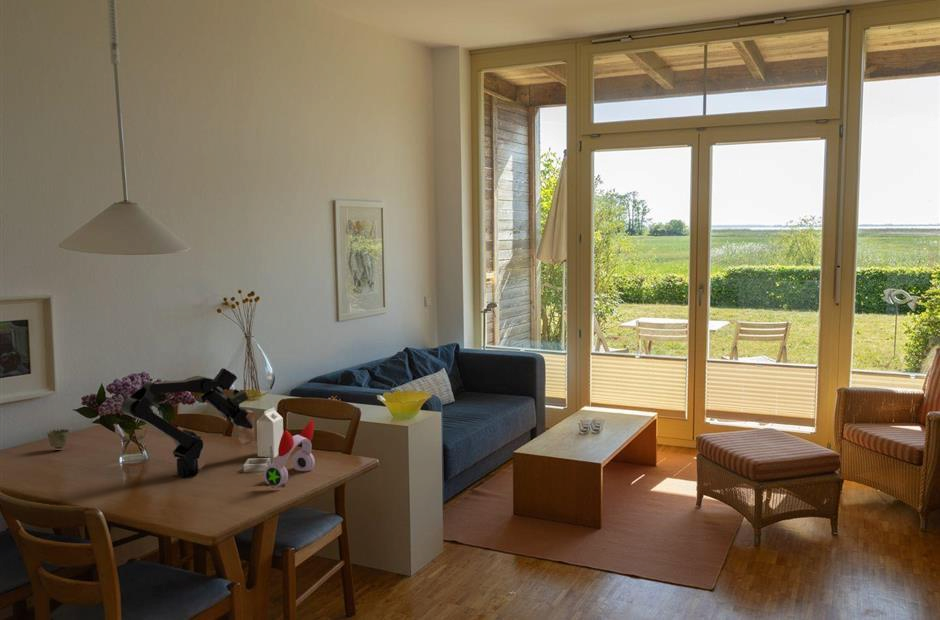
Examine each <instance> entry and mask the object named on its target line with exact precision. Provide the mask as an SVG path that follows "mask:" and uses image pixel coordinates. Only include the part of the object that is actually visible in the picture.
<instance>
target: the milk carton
mask: <svg viewBox="0 0 940 620" xmlns="http://www.w3.org/2000/svg"><path fill="white" fill-rule="evenodd" d="M283 432H284V418H283V417H282V415H280V414H279V412H277V410H276V407H275V406H274V407H271V408H268V409H266V410H264V411H263V414H262V415H261V417H259V418H258V419H257V421H256V438H257V439H256V441H257V457H262V458H263V457H264V458H270V446H273V449H274V458H277V455H278V448H279V444H280V440H281V437H282V435H283Z"/></svg>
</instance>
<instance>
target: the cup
mask: <svg viewBox="0 0 940 620" xmlns="http://www.w3.org/2000/svg"><path fill="white" fill-rule="evenodd" d="M47 438H48V442H49V445H50V447H52V448H53V450H54V449H62V448H64V449H65V447H66V446H67V443H68V442H69V429H65V428H63V429H62V428H61V429H60V430H59V429H57V430H56V429H52V430H49V431H47Z"/></svg>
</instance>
